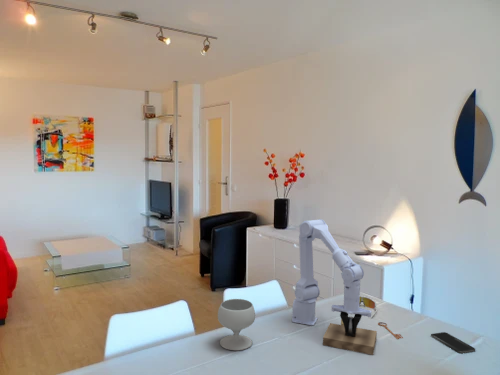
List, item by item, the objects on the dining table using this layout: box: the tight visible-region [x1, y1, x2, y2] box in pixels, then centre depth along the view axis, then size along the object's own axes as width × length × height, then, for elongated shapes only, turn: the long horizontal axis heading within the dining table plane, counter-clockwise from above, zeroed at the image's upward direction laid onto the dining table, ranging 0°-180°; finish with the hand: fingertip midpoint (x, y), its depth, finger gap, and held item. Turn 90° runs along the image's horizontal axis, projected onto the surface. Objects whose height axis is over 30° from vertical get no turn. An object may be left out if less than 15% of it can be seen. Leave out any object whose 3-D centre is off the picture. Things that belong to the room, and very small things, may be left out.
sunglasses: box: [359, 295, 378, 319], centre depth 180 cm, size 14×15×5 cm
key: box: [377, 321, 404, 340], centre depth 160 cm, size 6×1×15 cm
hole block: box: [322, 322, 378, 356], centre depth 149 cm, size 18×14×3 cm
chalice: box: [217, 298, 256, 351], centre depth 146 cm, size 14×14×15 cm
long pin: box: [347, 316, 354, 337], centre depth 149 cm, size 2×2×8 cm
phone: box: [430, 331, 476, 355], centre depth 149 cm, size 8×1×15 cm
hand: (350, 332), depth 149 cm, fingers closed on long pin, 2 cm apart
